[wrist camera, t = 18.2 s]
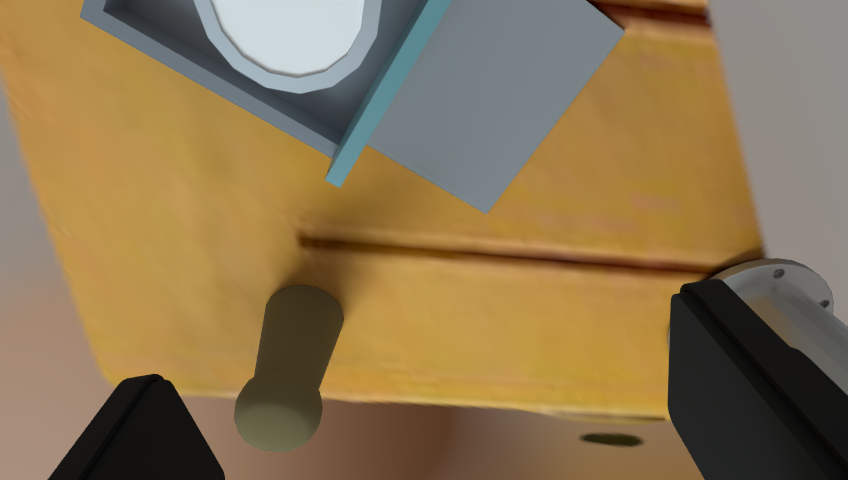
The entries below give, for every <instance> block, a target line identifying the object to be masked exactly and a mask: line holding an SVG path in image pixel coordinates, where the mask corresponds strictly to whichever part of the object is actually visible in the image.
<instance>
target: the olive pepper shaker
mask: <svg viewBox="0 0 848 480" xmlns="http://www.w3.org/2000/svg"><path fill="white" fill-rule="evenodd" d="M343 320H344V319H343V313H342V309H341V307H340V305H339V304H338V302H337V300H335V299H334V298H333V297H332V296H331V295H330V294H329V293H327V292H325V291H323V290H321V289H319V288H317V287H312V286H306V285H297V286H290V287H287V288H284V289H281V290H279V291H278V292H277V293H275V294H274V295H273V296H272V297H271V298H270V300H269V301H268V303H267V305H266V309H265V315H264V321H263V327H262V333H261V338H260V344H259V350H258V356H257V362H256V368H255V374H254V377H253V378H252V379H250V380H249V381H248V382H247V384H246V385H245V386H244V388H243V389H242V391H241V392H240V394H239V396H238V398H237V401H236V405H235V413H234V420H235V423H236V426H237V429H238V431H239V434H240V435H241V436H242V438H243V439H244V440H245V441H246V442H248V443H249V444H251V445H252V446H254V447H256V448H259V449H262V450H265V451H272V452H284V451H290V450H293V449H296V448H298V447H300V446H301V445H303V444H304V443H306V442H307V441H308V440H309V439H310V438H311V437H312V436H313V434H314V433H315V432H316V430H317V428H318V426H319V424H320V420H321V415H322V409H323V407H322V400H321V396H320V391H319V387H320V385H321V382H322V379H323V377H324V374H325V371H326V369H327V366H328V363H329V361H330V358H331V355H332V353H333V350H334V347H335V345H336V342H337V339H338V337H339V334H340V331H341V328H342V324H343Z"/></svg>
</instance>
